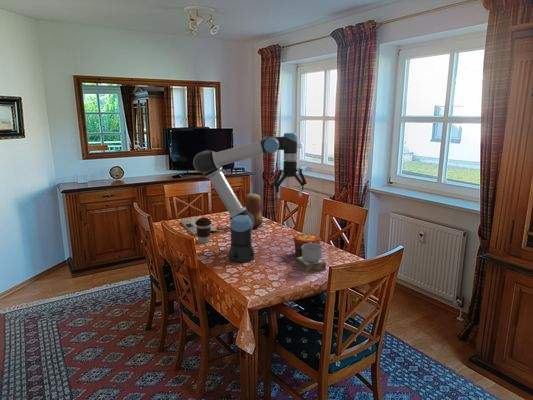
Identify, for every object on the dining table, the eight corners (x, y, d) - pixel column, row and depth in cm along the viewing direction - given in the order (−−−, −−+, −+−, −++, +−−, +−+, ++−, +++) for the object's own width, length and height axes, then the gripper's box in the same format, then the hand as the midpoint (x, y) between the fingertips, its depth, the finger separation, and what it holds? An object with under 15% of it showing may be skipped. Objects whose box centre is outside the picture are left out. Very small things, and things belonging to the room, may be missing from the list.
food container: (294, 249, 223) (294, 232, 221) (320, 251, 221) (321, 233, 218) (291, 259, 208) (291, 240, 206) (320, 260, 205) (320, 242, 203)
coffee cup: (207, 244, 231) (206, 221, 228) (193, 243, 234) (192, 220, 231) (214, 240, 240) (213, 217, 237) (201, 238, 243) (200, 216, 240)
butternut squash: (264, 225, 272) (264, 192, 266) (259, 231, 259) (259, 196, 254) (246, 224, 275) (246, 191, 270) (241, 229, 262) (240, 195, 257)
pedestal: (304, 272, 189) (305, 265, 188) (295, 264, 200) (295, 256, 199) (325, 269, 193) (325, 262, 192) (315, 261, 204) (315, 254, 203)
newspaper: (180, 223, 280) (179, 219, 279) (204, 220, 288) (204, 216, 288) (194, 236, 248) (193, 232, 247) (221, 233, 256) (221, 229, 256)
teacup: (321, 265, 188) (321, 250, 187) (300, 263, 191) (300, 248, 189) (322, 255, 202) (323, 241, 200) (302, 253, 204) (303, 240, 202)
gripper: (271, 162, 202) (271, 200, 207) (312, 160, 210) (311, 196, 215) (267, 160, 209) (267, 197, 214) (307, 159, 217) (306, 194, 222)
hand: (289, 197), depth 214 cm, fingers open, 13 cm apart
